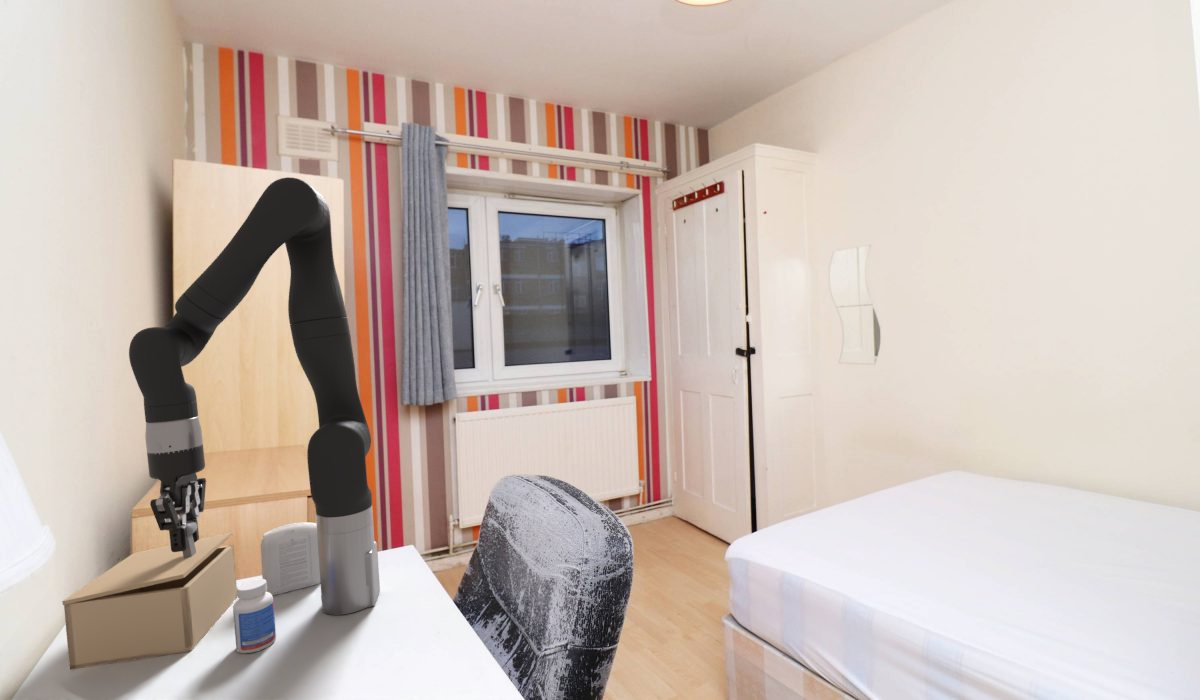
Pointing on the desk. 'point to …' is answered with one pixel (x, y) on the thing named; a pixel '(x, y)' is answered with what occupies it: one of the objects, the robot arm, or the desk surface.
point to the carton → (152, 615)
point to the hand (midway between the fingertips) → (185, 545)
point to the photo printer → (290, 557)
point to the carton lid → (151, 567)
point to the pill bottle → (254, 617)
